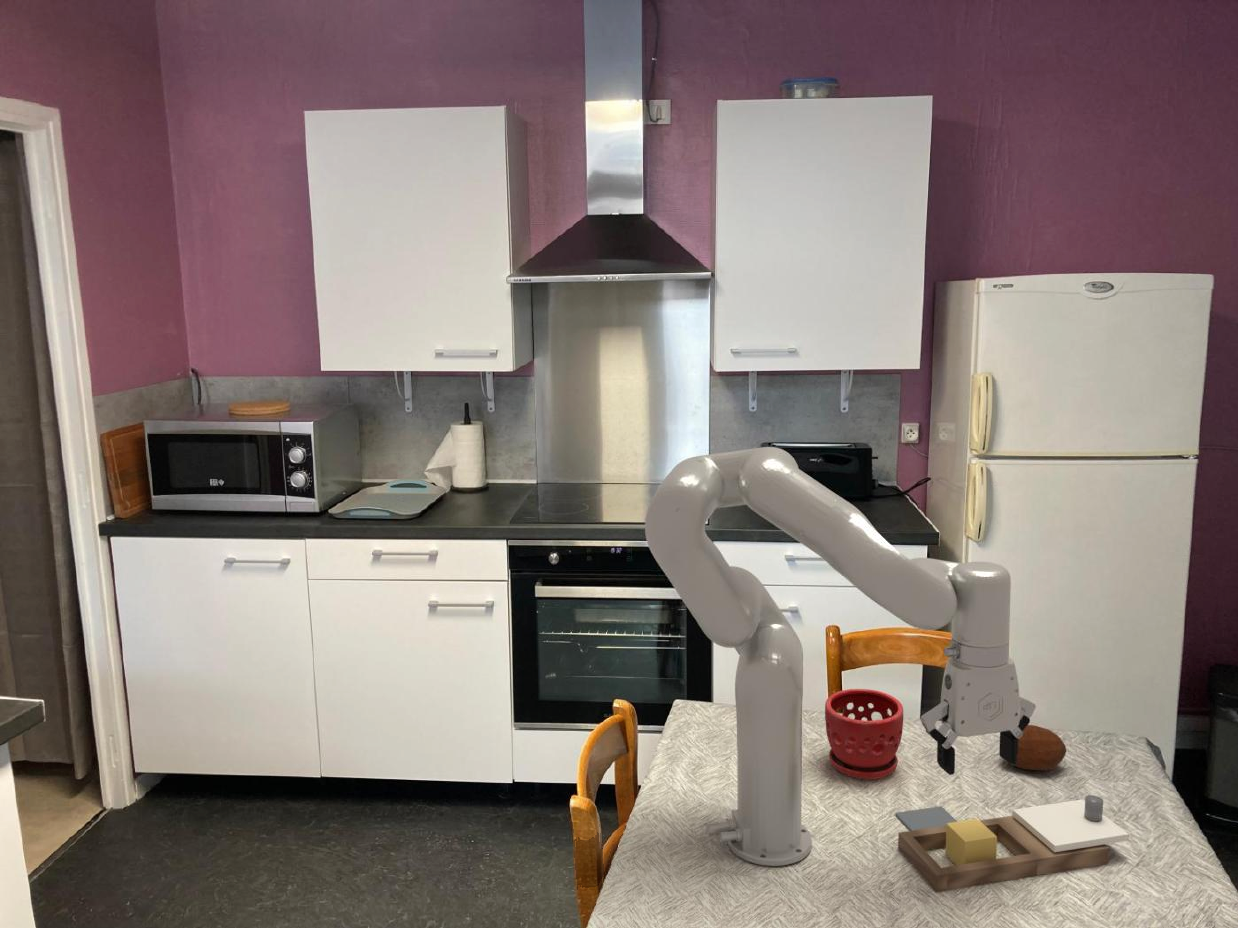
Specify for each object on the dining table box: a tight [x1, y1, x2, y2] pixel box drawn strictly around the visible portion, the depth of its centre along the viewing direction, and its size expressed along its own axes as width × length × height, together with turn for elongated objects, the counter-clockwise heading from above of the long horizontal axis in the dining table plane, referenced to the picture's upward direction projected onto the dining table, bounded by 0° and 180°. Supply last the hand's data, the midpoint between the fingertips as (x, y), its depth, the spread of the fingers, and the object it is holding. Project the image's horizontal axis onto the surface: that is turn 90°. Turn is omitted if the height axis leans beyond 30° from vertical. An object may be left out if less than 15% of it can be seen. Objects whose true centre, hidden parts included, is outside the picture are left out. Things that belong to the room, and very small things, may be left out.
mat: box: [894, 805, 958, 831], centre depth 150 cm, size 8×8×1 cm
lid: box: [1011, 794, 1130, 852], centre depth 143 cm, size 12×10×4 cm
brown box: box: [897, 815, 1110, 893], centre depth 142 cm, size 27×11×2 cm, turn 102°
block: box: [944, 818, 998, 865], centre depth 140 cm, size 5×5×5 cm
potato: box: [1013, 724, 1067, 771], centre depth 167 cm, size 8×11×8 cm
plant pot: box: [824, 688, 904, 780], centre depth 168 cm, size 13×13×12 cm
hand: (977, 765), depth 138 cm, fingers open, 9 cm apart
